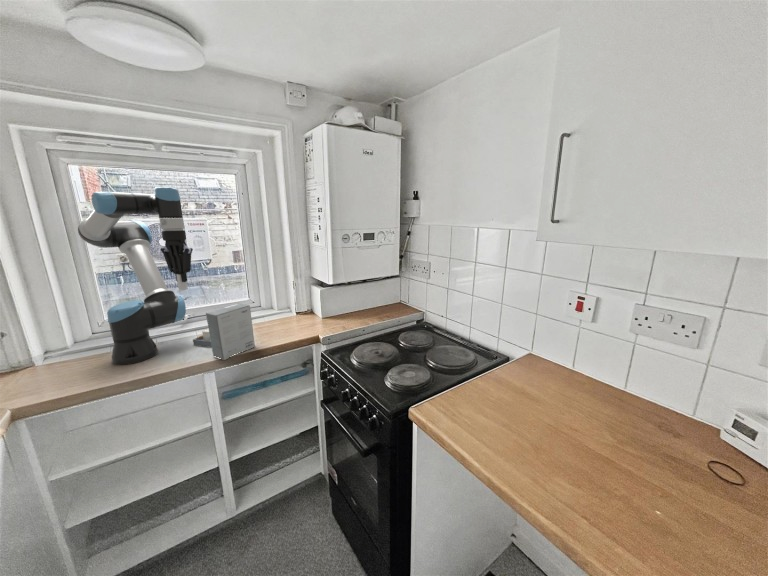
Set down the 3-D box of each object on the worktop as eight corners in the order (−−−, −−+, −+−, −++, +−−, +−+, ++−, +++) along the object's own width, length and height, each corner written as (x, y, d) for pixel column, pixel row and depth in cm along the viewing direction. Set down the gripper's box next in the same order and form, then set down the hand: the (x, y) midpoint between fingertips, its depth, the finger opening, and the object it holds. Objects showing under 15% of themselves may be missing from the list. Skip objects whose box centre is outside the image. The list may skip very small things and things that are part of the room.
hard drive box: (245, 343, 139) (240, 302, 134) (255, 347, 135) (250, 305, 130) (212, 357, 126) (205, 312, 121) (222, 361, 122) (216, 315, 117)
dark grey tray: (193, 345, 137) (192, 339, 137) (225, 329, 156) (224, 324, 156) (217, 347, 134) (216, 341, 134) (247, 331, 153) (246, 326, 153)
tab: (203, 340, 138) (202, 331, 137) (209, 337, 142) (208, 328, 141) (210, 341, 137) (208, 332, 136) (216, 338, 141) (214, 329, 140)
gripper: (150, 230, 111) (161, 291, 117) (178, 230, 109) (189, 292, 114) (168, 229, 119) (178, 286, 124) (195, 229, 116) (204, 288, 121)
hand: (183, 289), depth 119 cm, fingers closed
